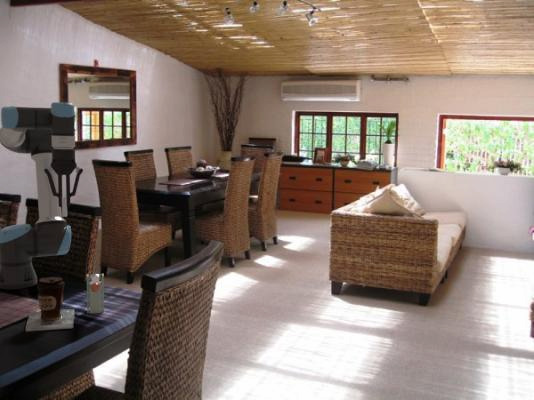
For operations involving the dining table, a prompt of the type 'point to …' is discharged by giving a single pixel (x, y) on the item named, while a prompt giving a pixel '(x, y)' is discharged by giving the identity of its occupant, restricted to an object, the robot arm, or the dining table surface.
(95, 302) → the press column
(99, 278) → the lever
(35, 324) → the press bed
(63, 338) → the dining table surface
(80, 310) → the dining table surface
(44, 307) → the coffee cup
